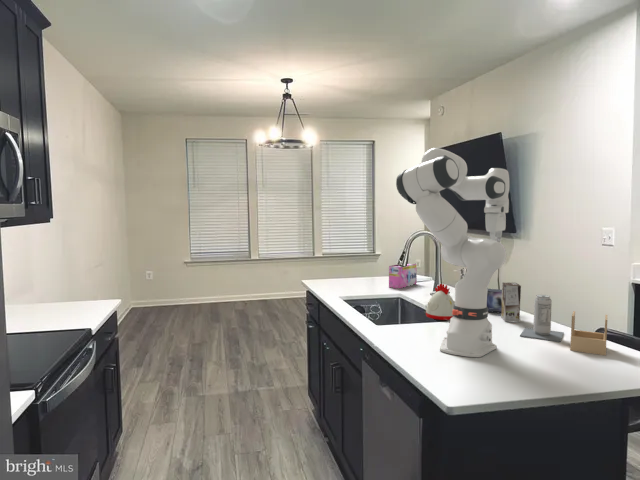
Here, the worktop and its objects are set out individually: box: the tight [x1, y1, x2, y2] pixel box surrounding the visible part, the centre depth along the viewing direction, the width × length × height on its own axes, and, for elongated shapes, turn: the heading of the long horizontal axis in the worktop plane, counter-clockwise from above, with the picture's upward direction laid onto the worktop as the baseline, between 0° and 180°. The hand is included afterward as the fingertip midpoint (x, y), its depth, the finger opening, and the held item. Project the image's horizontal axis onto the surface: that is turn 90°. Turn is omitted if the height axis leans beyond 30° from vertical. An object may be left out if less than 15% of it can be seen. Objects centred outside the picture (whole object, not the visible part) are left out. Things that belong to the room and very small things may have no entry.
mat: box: [519, 327, 564, 343], centre depth 182 cm, size 14×14×1 cm
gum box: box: [388, 262, 418, 289], centre depth 295 cm, size 24×8×14 cm, turn 141°
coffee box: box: [500, 282, 522, 323], centre depth 206 cm, size 9×6×16 cm
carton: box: [569, 310, 608, 356], centre depth 164 cm, size 11×11×12 cm
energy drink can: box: [533, 294, 553, 335], centre depth 181 cm, size 6×6×15 cm
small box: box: [487, 288, 502, 314], centre depth 222 cm, size 11×6×10 cm, turn 68°
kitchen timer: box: [425, 283, 455, 321], centre depth 212 cm, size 14×14×15 cm
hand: (495, 242), depth 190 cm, fingers open, 8 cm apart
